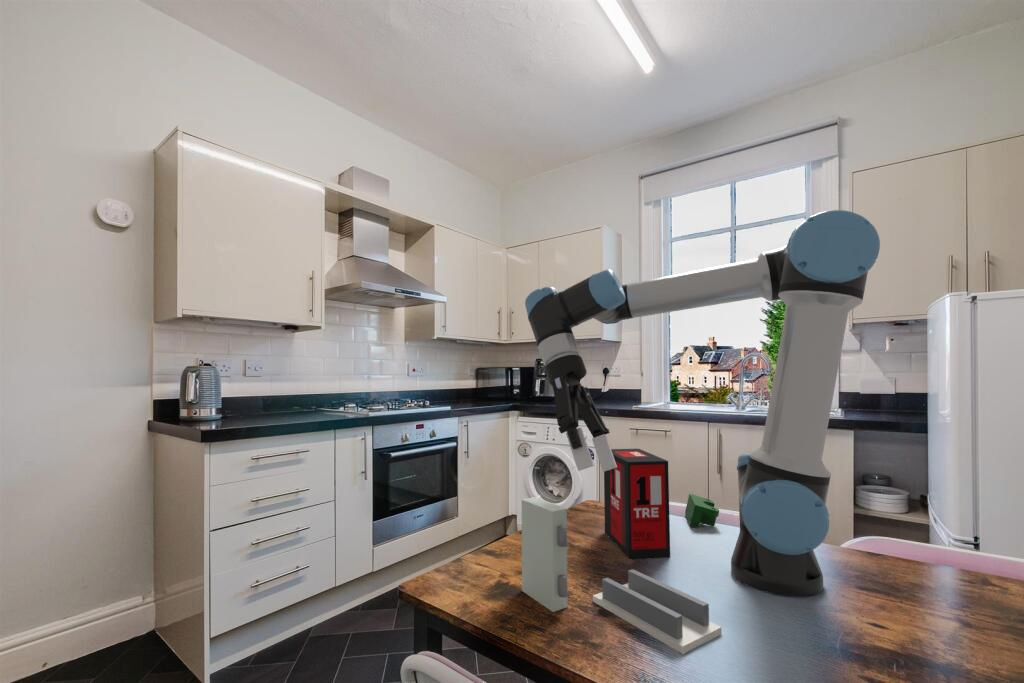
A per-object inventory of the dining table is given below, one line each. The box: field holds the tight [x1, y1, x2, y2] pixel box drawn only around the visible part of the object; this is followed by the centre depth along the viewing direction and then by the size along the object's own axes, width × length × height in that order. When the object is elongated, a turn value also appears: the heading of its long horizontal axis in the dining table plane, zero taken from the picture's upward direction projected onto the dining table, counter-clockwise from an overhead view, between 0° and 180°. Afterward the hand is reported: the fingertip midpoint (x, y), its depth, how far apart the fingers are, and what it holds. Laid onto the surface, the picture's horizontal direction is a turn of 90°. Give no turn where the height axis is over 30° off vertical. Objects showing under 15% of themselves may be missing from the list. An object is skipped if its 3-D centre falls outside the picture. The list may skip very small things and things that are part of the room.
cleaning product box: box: [603, 448, 671, 560], centre depth 108 cm, size 16×9×20 cm, turn 7°
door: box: [521, 496, 568, 613], centre depth 81 cm, size 10×3×16 cm, turn 33°
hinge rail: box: [592, 568, 723, 655], centre depth 75 cm, size 18×9×4 cm, turn 33°
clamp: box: [684, 493, 720, 528], centre depth 123 cm, size 12×6×9 cm, turn 161°
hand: (599, 469), depth 84 cm, fingers open, 13 cm apart
